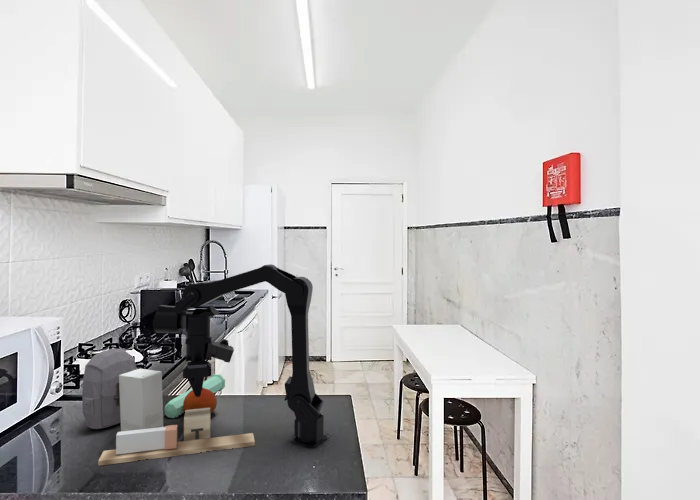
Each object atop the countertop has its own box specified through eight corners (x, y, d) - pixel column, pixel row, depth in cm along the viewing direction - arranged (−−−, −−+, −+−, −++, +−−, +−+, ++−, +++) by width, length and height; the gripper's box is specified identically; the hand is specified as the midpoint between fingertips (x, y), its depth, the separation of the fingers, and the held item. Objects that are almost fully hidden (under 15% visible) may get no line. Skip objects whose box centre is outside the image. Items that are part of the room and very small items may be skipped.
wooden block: (210, 441, 107) (210, 416, 107) (183, 444, 105) (183, 419, 105) (210, 430, 113) (210, 407, 113) (185, 433, 111) (185, 410, 111)
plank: (252, 437, 109) (252, 433, 109) (254, 445, 105) (254, 441, 105) (103, 455, 100) (103, 450, 100) (98, 465, 95) (98, 461, 95)
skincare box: (164, 432, 112) (164, 371, 112) (142, 443, 106) (142, 378, 106) (140, 426, 115) (140, 367, 115) (118, 436, 109) (118, 373, 109)
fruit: (211, 422, 118) (211, 392, 118) (178, 422, 119) (178, 392, 118) (221, 410, 127) (221, 382, 127) (190, 409, 127) (190, 382, 127)
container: (174, 398, 120) (221, 371, 144) (157, 404, 121) (206, 376, 146) (181, 418, 120) (228, 388, 144) (164, 425, 121) (213, 393, 145)
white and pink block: (177, 442, 103) (177, 424, 103) (176, 448, 100) (176, 429, 100) (118, 449, 100) (118, 431, 99) (115, 455, 97) (115, 436, 97)
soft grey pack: (126, 412, 125) (126, 341, 125) (148, 416, 122) (148, 344, 122) (74, 432, 111) (74, 353, 111) (97, 438, 108) (97, 357, 108)
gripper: (233, 339, 103) (233, 406, 103) (230, 325, 121) (230, 382, 121) (182, 342, 99) (182, 411, 100) (186, 327, 117) (186, 386, 117)
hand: (198, 396), depth 109 cm, fingers closed
